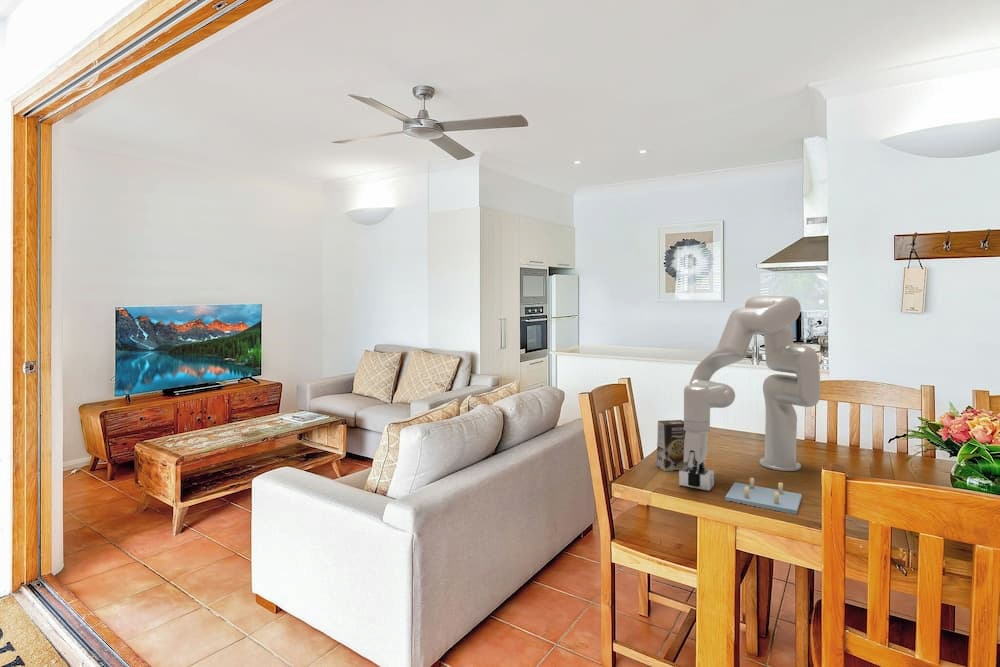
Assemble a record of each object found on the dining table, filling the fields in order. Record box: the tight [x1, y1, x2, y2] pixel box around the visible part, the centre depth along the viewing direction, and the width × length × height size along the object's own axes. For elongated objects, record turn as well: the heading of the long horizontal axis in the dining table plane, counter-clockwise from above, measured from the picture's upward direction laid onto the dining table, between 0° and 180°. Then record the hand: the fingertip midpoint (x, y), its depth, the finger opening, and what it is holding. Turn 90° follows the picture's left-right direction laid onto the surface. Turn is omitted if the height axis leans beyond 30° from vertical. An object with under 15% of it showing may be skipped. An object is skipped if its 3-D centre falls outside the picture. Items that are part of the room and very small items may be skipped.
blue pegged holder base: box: [724, 477, 803, 516], centre depth 151 cm, size 14×18×4 cm
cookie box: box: [656, 419, 689, 472], centre depth 179 cm, size 9×6×16 cm
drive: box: [678, 466, 715, 492], centre depth 162 cm, size 6×9×5 cm, turn 55°
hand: (696, 482), depth 162 cm, fingers closed on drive, 5 cm apart
